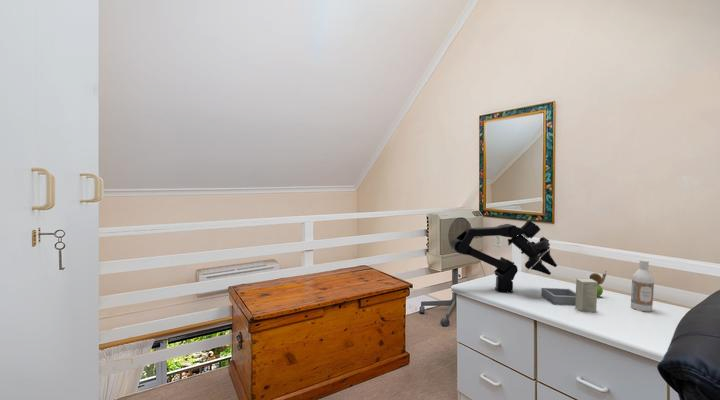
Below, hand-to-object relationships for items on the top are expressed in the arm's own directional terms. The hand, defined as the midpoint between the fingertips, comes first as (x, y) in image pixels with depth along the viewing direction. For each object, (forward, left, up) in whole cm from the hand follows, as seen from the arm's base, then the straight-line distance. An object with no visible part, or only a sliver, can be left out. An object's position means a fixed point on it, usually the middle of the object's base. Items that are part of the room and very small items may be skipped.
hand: (553, 270), depth 159 cm
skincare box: (+6, -16, -12) cm, 21 cm away
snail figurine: (+21, +3, -12) cm, 24 cm away
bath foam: (+30, -12, -12) cm, 34 cm away
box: (+2, -5, -12) cm, 13 cm away
